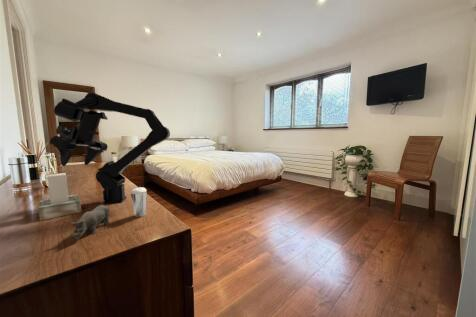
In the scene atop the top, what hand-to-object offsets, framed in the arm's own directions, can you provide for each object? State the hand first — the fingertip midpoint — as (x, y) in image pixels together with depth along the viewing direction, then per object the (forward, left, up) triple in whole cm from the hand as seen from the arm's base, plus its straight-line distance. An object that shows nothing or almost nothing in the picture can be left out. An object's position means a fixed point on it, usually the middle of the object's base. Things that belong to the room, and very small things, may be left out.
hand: (75, 165), depth 74 cm
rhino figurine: (-16, +28, -15) cm, 35 cm away
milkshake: (-26, +19, -15) cm, 35 cm away
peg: (+1, +9, -15) cm, 17 cm away
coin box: (+1, +9, -15) cm, 17 cm away
